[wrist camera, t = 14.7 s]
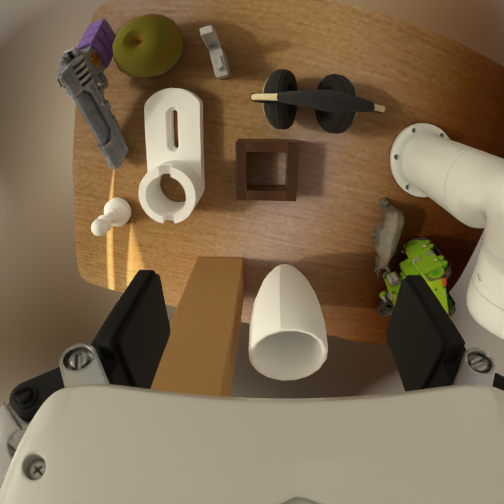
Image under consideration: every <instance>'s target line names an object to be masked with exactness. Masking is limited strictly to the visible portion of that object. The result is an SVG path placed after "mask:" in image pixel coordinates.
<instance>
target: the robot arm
mask: <svg viewBox="0 0 504 504" xmlns="http://www.w3.org/2000/svg"><path fill="white" fill-rule="evenodd" d="M412 129H413V131H412ZM440 134H441V135H440ZM395 155H396V157H395V158H394V156H395ZM390 165H391V170H392V174H393V176H394V178H395V180H396V182H397V183H398V185H399V186H400V187H401V188H402V189H403V190H405V191H406V192H408V193H409V194H411V195H414V196H417V197H429V198H431V199H432V200H434V201H435V202H436V203H437V204H439V205H440V206H441V207H443V208H444V209H445V210H447V211H448V212H449V213H450V214H452V215H453V216H454V217H455V218H457V219H458V220H459V221H461V222H462V223H464V224H465V225H467V226H470V227H473V228H485V232H484V235H483V242H482V245H481V249H480V252H479V255H478V258H477V261H476V265H475V268H474V271H473V274H472V276H471V280H470V283H469V286H468V290H467V296H466V302H467V307H468V310H469V312H470V314H471V315H472V317H473V318H474V319H475V320H476V321H477V322H478V323H479V324H480V325H481V326H483V327H484V328H486V329H487V330H488V331H490V332H491V333H493V334H495V335H497V336H499V337H500V338H502V339H504V159H503V158H500V157H497V156H494V155H491V154H489V153H486V152H484V151H481V150H478V149H475V148H472V147H470V146H467V145H464V144H461V143H458V142H455V141H452V140H450V139H449V137H448V136H447V135H446V134H445V132H443V131H442V130H441V129H440V128H438V127H436V126H434V125H431V124H427V123H416V124H413V125H410V126H408V127H406V128H405V129H404V130H403V131H402V132H400V134H399V135H398V136H397V138H396V139H395V141H394V143H393V146H392V149H391V155H390ZM406 186H407V187H406ZM169 336H170V325H169V320H168V316H167V310H166V306H165V301H164V296H163V291H162V285H161V280H160V276H159V275H158V274H155V271H153V270H139V271H138V272H137V274H136V275H135V277H134V278H133V280H132V281H131V283H130V284H129V286H128V287H127V289H126V290H125V292H124V293H123V295H122V296H121V298H120V300H119V301H118V302H117V303H116V305H115V306H114V308H113V310H112V311H111V313H110V314H109V316H108V317H107V319H106V320H105V322H104V324H103V325H102V327H101V328H100V330H99V332H98V333H97V335H96V337H95V338H94V340H93V342H92V343H91V345H90V344H86V343H79V344H75V345H72V346H70V347H68V348H67V349H66V350H65V351H64V352H63V353H62V354H61V356H60V359H59V366H60V367H58V368H56V369H54V370H51V371H49V372H47V373H44V374H42V375H40V376H37V377H35V378H33V379H30V380H28V381H25V382H23V383H21V384H19V385H18V386H17V387H15V388H14V390H13V391H12V393H11V395H10V403H9V404H8V405H6V404H5V403H3V404H2V405H0V504H504V377H503V376H501V375H499V374H497V373H495V370H496V364H495V361H494V359H493V357H492V356H491V355H490V354H489V353H488V352H486V351H485V350H483V349H480V348H470V349H468V350H466V349H465V347H464V345H465V342H464V340H463V338H462V337H461V335H460V333H459V332H458V330H457V328H456V327H455V325H454V324H453V322H452V320H451V319H450V317H449V315H448V314H447V312H446V311H445V309H444V308H443V306H442V305H441V303H440V302H439V300H438V299H437V297H436V295H435V294H434V293H433V291H432V290H431V288H430V287H429V285H428V284H427V282H426V281H425V279H424V278H423V277H422V276H421V275H407V276H406V278H405V279H403V280H402V281H401V285H400V288H399V292H398V296H397V299H396V302H395V306H394V309H393V312H392V316H391V319H390V322H389V325H388V328H387V332H386V338H387V341H388V344H389V347H390V349H391V352H392V355H393V357H394V360H395V363H396V366H397V369H398V372H399V374H400V377H401V380H402V383H403V386H404V389H405V392H396V393H388V394H378V395H367V396H353V397H336V398H310V399H268V398H265V399H264V398H240V397H223V396H209V395H198V394H188V393H179V392H169V391H161V390H153V389H150V388H151V386H152V383H153V380H154V377H155V374H156V372H157V369H158V366H159V363H160V361H161V358H162V355H163V353H164V350H165V347H166V345H167V342H168V339H169Z"/></svg>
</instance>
